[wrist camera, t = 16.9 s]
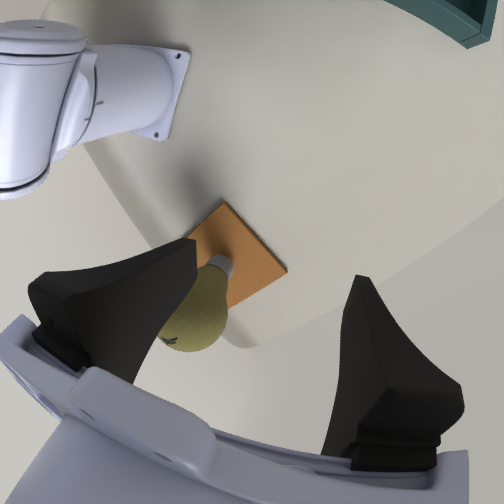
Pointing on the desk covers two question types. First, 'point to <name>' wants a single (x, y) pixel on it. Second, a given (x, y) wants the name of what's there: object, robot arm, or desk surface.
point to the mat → (236, 253)
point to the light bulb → (201, 309)
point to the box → (455, 17)
